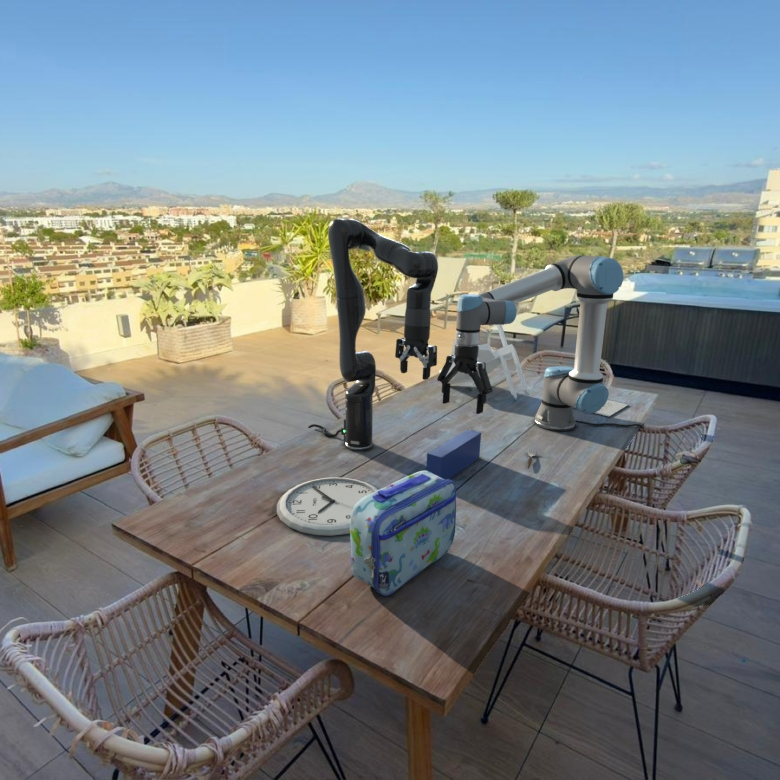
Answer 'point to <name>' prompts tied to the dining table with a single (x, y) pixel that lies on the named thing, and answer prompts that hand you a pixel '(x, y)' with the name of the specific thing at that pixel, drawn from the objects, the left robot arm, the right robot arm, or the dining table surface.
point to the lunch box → (402, 530)
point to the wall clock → (322, 505)
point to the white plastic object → (494, 363)
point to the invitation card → (611, 408)
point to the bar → (454, 454)
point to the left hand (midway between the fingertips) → (414, 375)
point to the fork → (531, 456)
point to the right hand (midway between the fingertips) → (462, 407)
